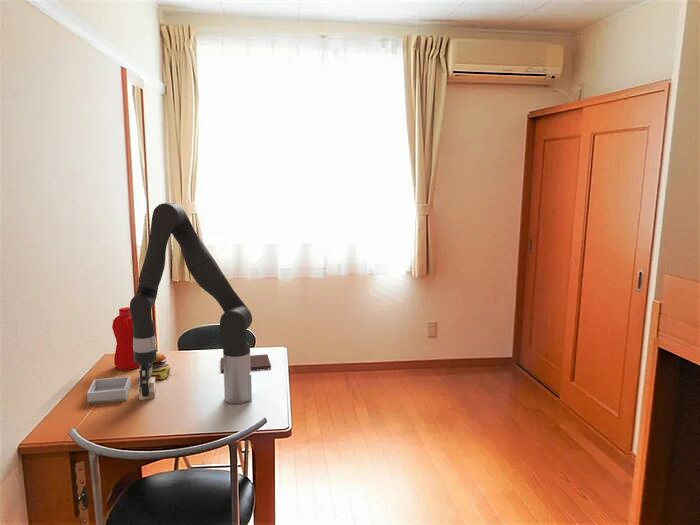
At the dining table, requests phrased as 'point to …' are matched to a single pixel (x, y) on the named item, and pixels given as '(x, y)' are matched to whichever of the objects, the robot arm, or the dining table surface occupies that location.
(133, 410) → the dining table surface
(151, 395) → the birch block
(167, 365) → the cheeseburger
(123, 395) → the grey bin
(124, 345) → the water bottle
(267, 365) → the notebook
